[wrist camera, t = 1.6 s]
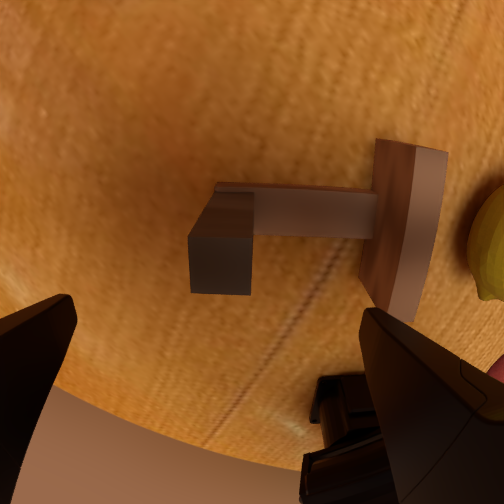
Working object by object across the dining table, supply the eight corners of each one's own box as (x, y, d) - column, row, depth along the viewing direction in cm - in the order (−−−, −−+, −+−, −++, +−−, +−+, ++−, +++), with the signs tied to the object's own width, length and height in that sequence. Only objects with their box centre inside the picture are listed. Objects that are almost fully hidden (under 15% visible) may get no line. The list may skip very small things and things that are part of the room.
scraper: (382, 277, 23) (436, 357, 14) (218, 273, 23) (197, 363, 14) (402, 142, 19) (488, 163, 10) (218, 128, 19) (185, 133, 10)
